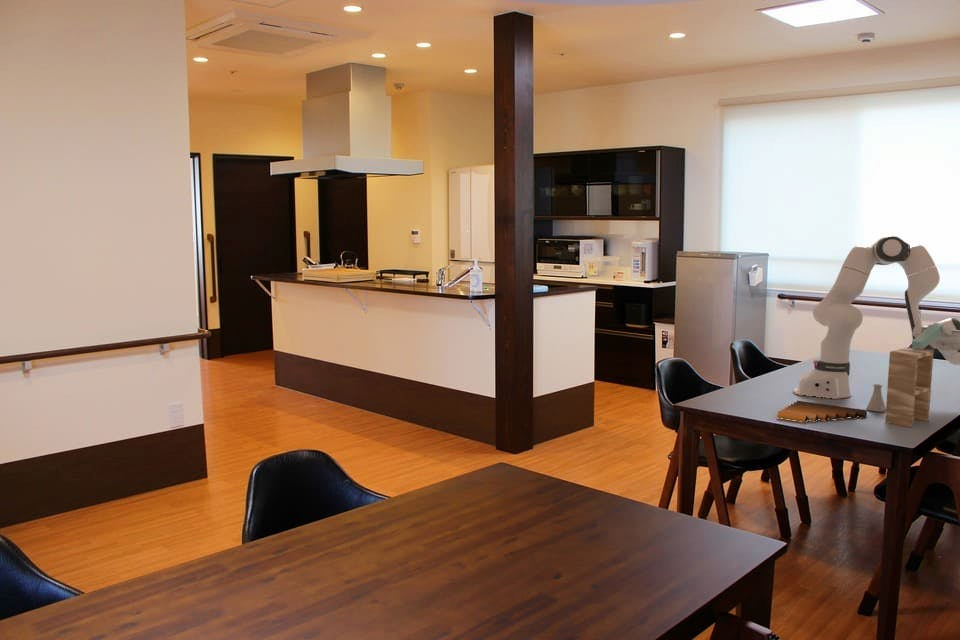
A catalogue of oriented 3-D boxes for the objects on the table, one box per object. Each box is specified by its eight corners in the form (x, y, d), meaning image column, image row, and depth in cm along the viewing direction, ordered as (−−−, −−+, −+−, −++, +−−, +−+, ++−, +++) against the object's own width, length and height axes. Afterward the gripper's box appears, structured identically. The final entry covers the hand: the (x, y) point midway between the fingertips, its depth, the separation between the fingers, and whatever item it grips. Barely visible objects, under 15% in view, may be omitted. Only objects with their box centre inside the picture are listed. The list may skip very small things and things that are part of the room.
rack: (902, 415, 297) (907, 347, 294) (928, 420, 290) (933, 350, 287) (885, 422, 288) (889, 351, 284) (911, 427, 281) (916, 354, 278)
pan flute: (866, 418, 296) (797, 408, 312) (867, 409, 296) (798, 399, 311) (849, 432, 277) (776, 420, 292) (849, 422, 276) (777, 411, 292)
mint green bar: (934, 330, 301) (934, 323, 300) (943, 331, 299) (943, 323, 298) (912, 349, 290) (911, 341, 289) (921, 350, 287) (921, 342, 286)
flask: (862, 410, 306) (864, 384, 305) (869, 407, 311) (871, 382, 310) (882, 413, 301) (884, 387, 300) (889, 410, 306) (891, 384, 305)
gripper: (921, 331, 315) (909, 317, 306) (978, 337, 299) (968, 322, 291) (917, 346, 314) (905, 331, 305) (974, 352, 298) (963, 337, 289)
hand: (936, 327), depth 298 cm, fingers closed on mint green bar, 3 cm apart
